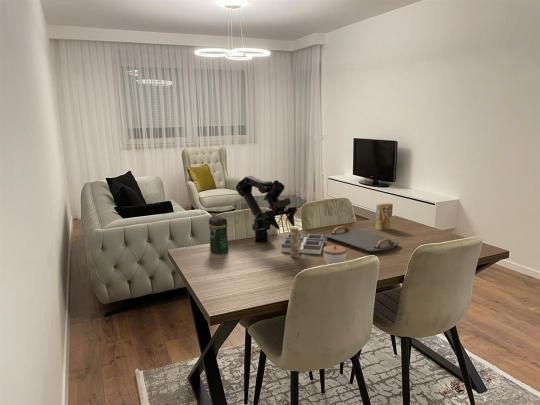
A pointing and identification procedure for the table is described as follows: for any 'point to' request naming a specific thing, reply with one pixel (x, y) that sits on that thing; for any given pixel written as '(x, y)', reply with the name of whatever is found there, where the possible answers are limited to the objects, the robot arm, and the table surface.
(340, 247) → the lidded jar
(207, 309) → the table surface
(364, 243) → the serving board
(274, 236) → the table surface
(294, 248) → the stool leg
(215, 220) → the coffee jar
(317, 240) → the grey compartment tray
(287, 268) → the table surface
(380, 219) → the candy box
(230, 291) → the table surface
